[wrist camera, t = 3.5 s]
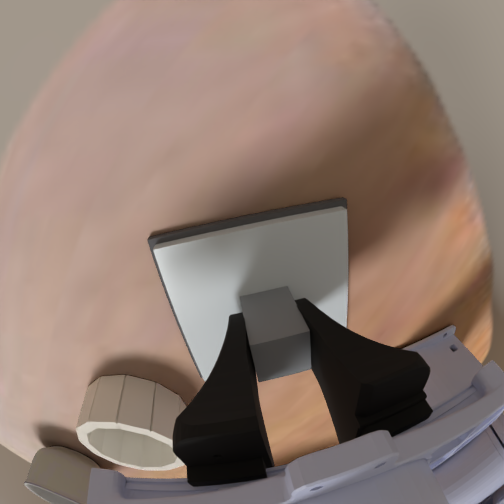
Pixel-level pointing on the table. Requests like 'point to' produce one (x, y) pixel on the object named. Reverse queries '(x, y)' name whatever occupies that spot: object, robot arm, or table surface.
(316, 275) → the lid
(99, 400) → the bowl
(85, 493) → the teacup
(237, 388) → the robot arm
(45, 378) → the table surface
